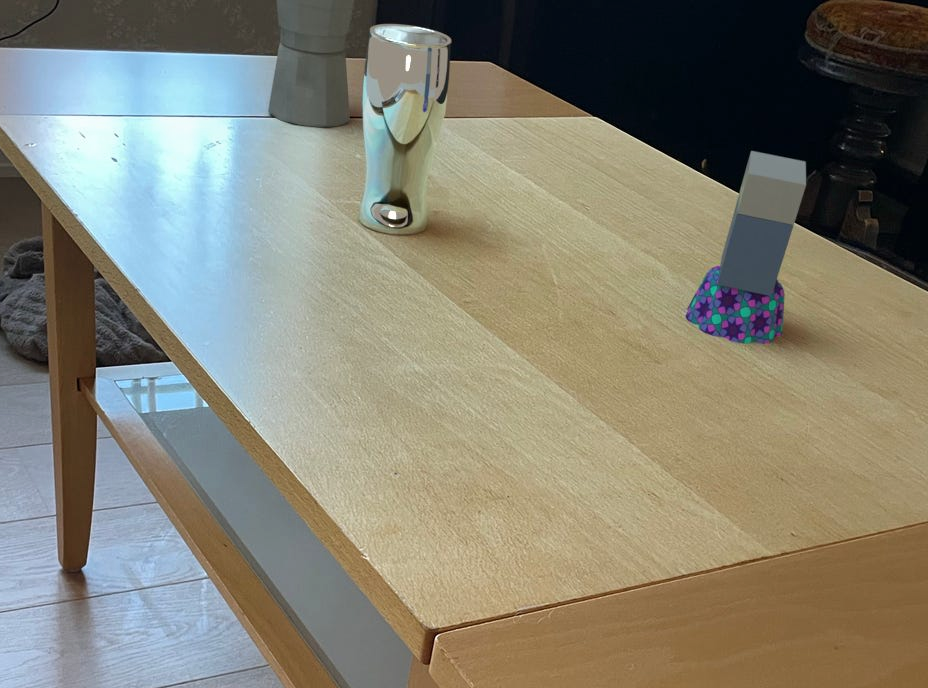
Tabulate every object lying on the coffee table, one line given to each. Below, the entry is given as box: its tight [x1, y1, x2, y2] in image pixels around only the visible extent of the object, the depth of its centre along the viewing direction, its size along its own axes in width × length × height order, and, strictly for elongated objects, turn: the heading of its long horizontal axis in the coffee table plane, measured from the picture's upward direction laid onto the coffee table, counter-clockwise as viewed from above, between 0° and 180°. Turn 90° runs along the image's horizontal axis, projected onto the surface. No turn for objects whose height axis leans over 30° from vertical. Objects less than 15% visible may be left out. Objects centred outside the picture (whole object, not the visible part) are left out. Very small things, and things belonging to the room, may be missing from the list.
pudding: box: [685, 265, 786, 345], centre depth 88 cm, size 12×12×5 cm
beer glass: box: [357, 23, 452, 236], centre depth 97 cm, size 7×7×15 cm
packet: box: [717, 150, 807, 296], centre depth 84 cm, size 4×6×8 cm, turn 166°
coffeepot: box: [267, 0, 355, 128], centre depth 119 cm, size 15×9×18 cm, turn 27°
